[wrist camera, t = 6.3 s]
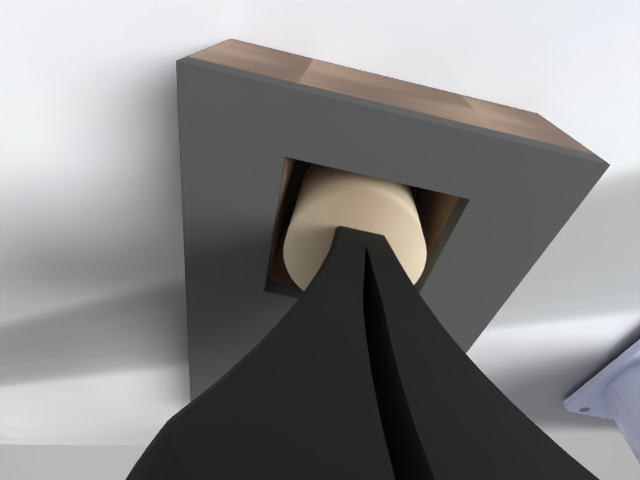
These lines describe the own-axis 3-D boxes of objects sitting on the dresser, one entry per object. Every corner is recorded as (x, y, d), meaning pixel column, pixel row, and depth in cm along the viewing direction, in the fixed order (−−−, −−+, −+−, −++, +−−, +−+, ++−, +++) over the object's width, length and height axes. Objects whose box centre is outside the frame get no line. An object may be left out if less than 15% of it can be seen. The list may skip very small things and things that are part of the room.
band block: (537, 113, 11) (610, 164, 8) (361, 420, 24) (361, 489, 20) (231, 38, 11) (175, 61, 7) (216, 392, 23) (193, 457, 20)
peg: (428, 159, 12) (451, 216, 9) (389, 250, 14) (398, 319, 11) (311, 131, 11) (295, 180, 8) (292, 229, 14) (275, 293, 11)
